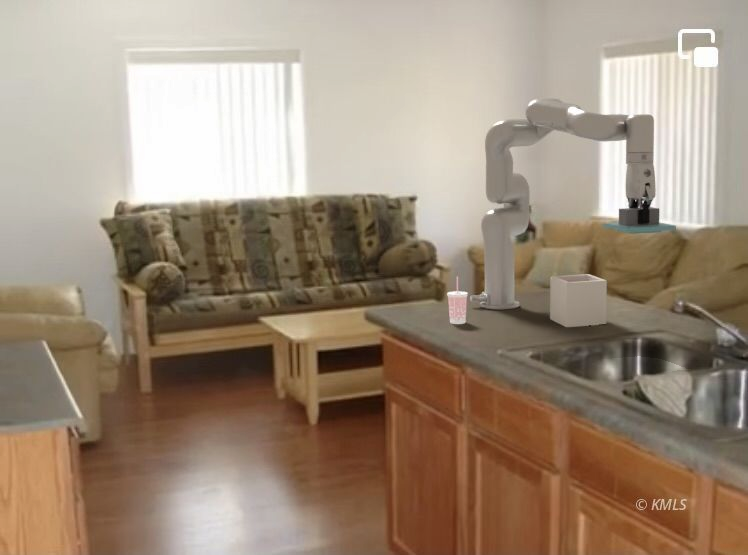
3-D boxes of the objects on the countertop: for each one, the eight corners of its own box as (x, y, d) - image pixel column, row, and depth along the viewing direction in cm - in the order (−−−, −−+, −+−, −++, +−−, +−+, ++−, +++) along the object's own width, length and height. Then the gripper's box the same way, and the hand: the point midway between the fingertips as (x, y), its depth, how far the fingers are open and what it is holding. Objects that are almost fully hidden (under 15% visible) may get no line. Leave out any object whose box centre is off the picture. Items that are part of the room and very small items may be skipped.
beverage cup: (471, 321, 301) (470, 275, 299) (463, 325, 296) (462, 278, 293) (452, 319, 304) (452, 274, 301) (444, 323, 298) (443, 277, 296)
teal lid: (626, 235, 278) (626, 212, 277) (603, 230, 292) (603, 207, 291) (675, 232, 281) (676, 209, 280) (650, 227, 295) (651, 205, 294)
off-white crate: (566, 327, 290) (566, 282, 287) (550, 319, 302) (550, 276, 299) (606, 324, 292) (606, 280, 290) (588, 316, 304) (589, 274, 302)
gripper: (666, 159, 276) (665, 224, 279) (638, 157, 292) (637, 219, 295) (641, 160, 274) (640, 226, 277) (614, 158, 291) (613, 220, 294)
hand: (639, 221), depth 286 cm, fingers closed on teal lid, 5 cm apart
